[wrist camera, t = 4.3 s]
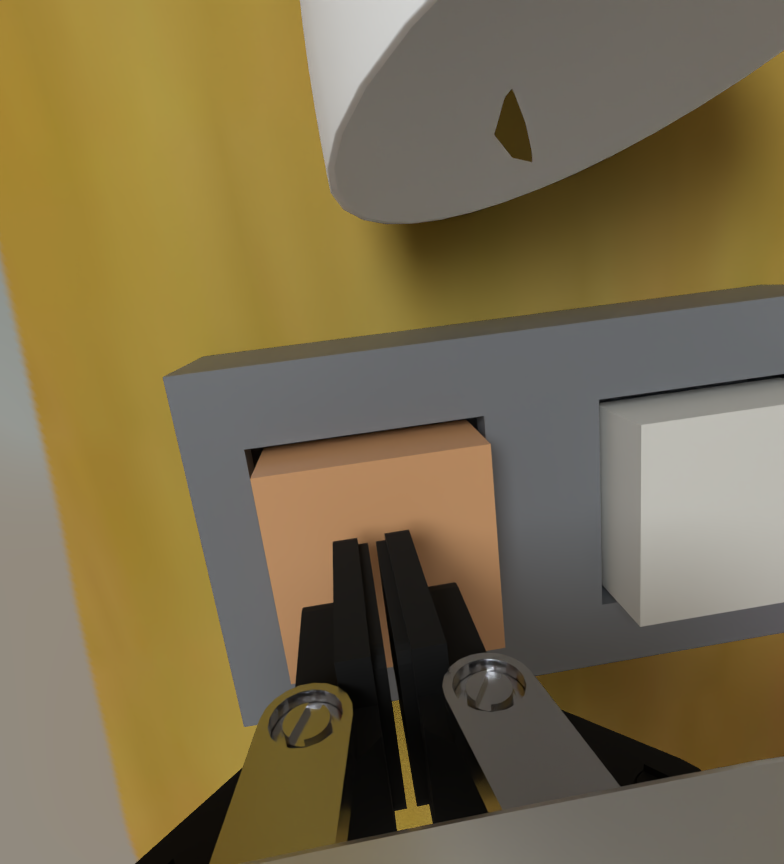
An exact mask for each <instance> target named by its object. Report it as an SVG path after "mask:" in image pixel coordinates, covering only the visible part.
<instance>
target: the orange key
mask: <svg viewBox="0 0 784 864" xmlns="http://www.w3.org/2000/svg"><path fill="white" fill-rule="evenodd" d="M250 481H251V486H252V491H253V496H254V501H255V506H256V511H257V516H258V521H259V526H260V531H261V536H262V541H263V546H264V551H265V556H266V561H267V566H268V571H269V576H270V581H271V586H272V591H273V596H274V601H275V606H276V611H277V616H278V621H279V626H280V631H281V636H282V641H283V646H284V651H285V656H286V661H287V666H288V671H289V676H290V681H291V684H295V683H296V671H297V659H298V648H299V636H300V624H301V613H302V608H303V607H309V606H315V605H321V604H327V603H333V541H339V540H346V539H352V538H357V539H358V544H363V543H368V547H369V553H370V560H371V566H372V573H373V579H374V586H375V592H376V599H377V605H378V612H379V618H380V625H381V631H382V638H383V645H384V651H385V658H386V665H387V668H389V667H393V662H392V655H391V649H390V642H389V634H388V627H387V620H386V613H385V605H384V598H383V591H382V584H381V576H380V569H379V562H378V555H377V547H376V541H382V540H385V535H384V533H390V532H396V531H403V530H409V531H410V534H411V537H412V540H413V543H414V546H415V549H416V552H417V555H418V558H419V561H420V564H421V567H422V570H423V573H424V576H425V579H426V582H427V585H428V587H429V586H435V585H441V584H447V583H453V582H455V583H456V584H457V585H458V587H459V590H460V592H461V594H462V597H463V599H464V601H465V604H466V606H467V608H468V610H469V613H470V615H471V617H472V620H473V622H474V624H475V626H476V629H477V631H478V633H479V636H480V638H481V640H482V643H483V645H484V647H485V649H486V651H489V650H495V649H501V648H505V636H504V622H503V608H502V594H501V580H500V566H499V552H498V538H497V524H496V510H495V496H494V483H493V469H492V455H491V444H490V443H489V442H488V441H487V440H486V439H485V438H484V437H483V436H482V435H481V434H480V433H479V432H478V431H477V430H476V429H475V428H474V427H473V426H472V425H471V424H470V423H469V422H468V421H467V420H466V419H465V420H458V421H451V422H444V423H437V424H429V425H422V426H415V427H408V428H401V429H394V430H387V431H380V432H373V433H365V434H358V435H351V436H344V437H337V438H330V439H323V440H316V441H309V442H302V443H294V444H287V445H280V446H273V447H266V448H264V449H263V451H262V453H261V455H260V458H259V460H258V462H257V464H256V467H255V469H254V471H253V473H252V476H251V478H250Z"/></svg>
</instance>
